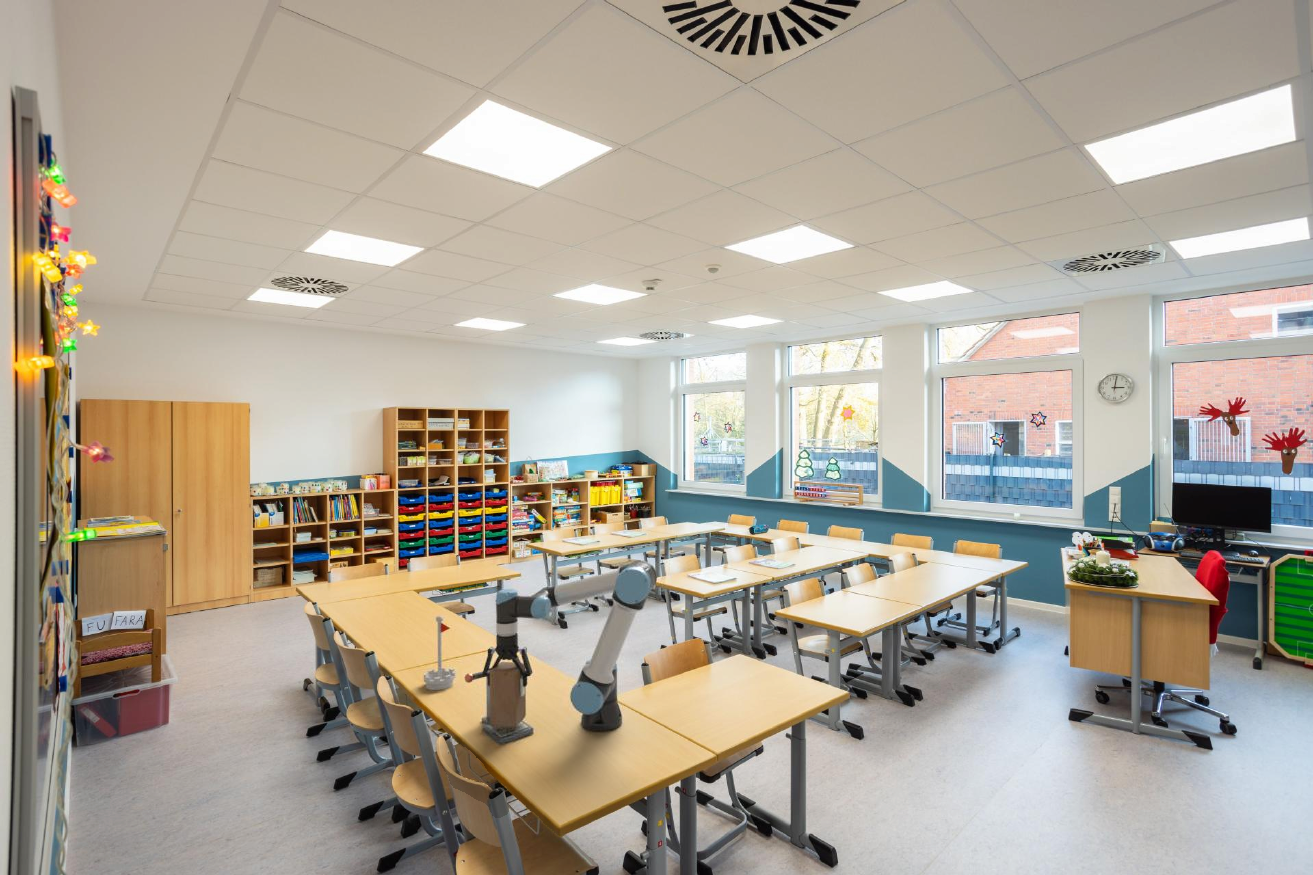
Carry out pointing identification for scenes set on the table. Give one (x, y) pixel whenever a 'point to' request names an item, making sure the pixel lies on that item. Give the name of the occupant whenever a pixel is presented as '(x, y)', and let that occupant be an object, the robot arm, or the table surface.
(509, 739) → the press
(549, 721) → the table surface
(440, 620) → the flag stand
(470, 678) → the lever
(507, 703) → the wooden block
